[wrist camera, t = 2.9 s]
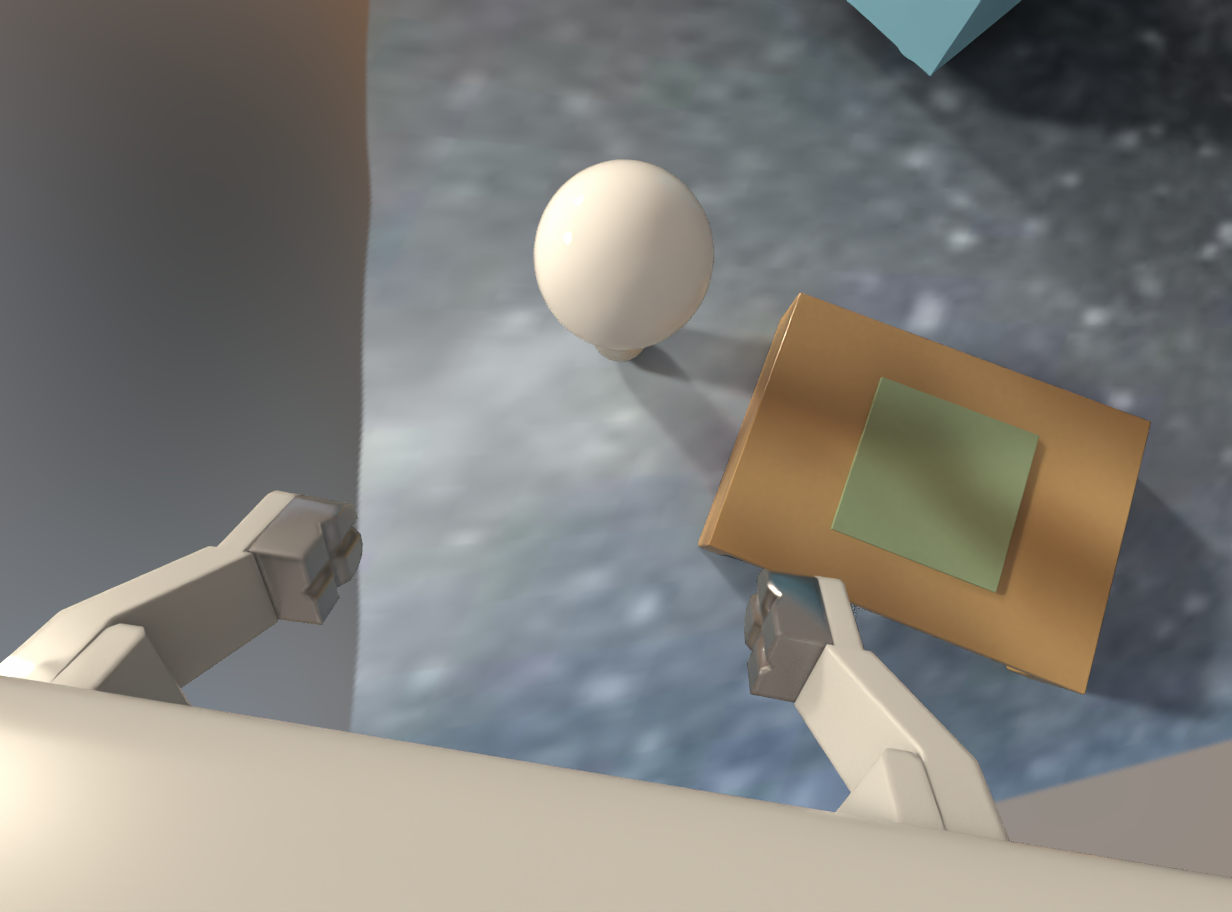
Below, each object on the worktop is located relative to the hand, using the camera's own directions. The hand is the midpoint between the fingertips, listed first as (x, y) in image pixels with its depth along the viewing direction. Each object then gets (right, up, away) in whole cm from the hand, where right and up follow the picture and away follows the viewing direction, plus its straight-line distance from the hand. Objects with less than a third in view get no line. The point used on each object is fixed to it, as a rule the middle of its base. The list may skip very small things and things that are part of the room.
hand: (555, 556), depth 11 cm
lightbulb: (+1, +8, +17) cm, 19 cm away
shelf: (+15, 0, +16) cm, 21 cm away
